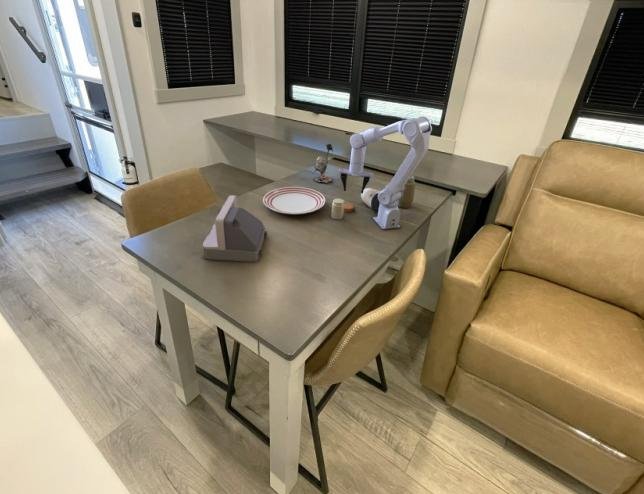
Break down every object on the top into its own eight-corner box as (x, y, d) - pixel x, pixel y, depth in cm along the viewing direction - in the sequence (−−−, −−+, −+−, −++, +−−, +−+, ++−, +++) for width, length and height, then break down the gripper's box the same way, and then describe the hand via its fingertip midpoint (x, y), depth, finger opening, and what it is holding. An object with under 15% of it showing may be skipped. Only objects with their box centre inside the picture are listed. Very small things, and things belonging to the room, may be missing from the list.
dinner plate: (252, 213, 137) (252, 206, 135) (276, 188, 161) (276, 182, 159) (316, 224, 132) (316, 217, 131) (330, 197, 156) (331, 191, 154)
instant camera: (222, 226, 127) (218, 190, 119) (274, 233, 124) (274, 197, 117) (195, 257, 108) (189, 217, 101) (255, 267, 106) (254, 227, 99)
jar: (345, 218, 138) (346, 202, 135) (333, 219, 137) (335, 204, 133) (340, 212, 143) (342, 197, 139) (329, 214, 141) (330, 198, 137)
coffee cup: (372, 206, 155) (387, 216, 141) (355, 201, 151) (370, 211, 138) (379, 188, 153) (395, 196, 139) (362, 183, 149) (378, 191, 136)
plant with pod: (319, 175, 180) (321, 138, 170) (334, 181, 173) (338, 144, 163) (308, 178, 175) (310, 141, 165) (324, 185, 168) (326, 146, 158)
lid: (341, 205, 149) (342, 202, 148) (353, 207, 148) (354, 204, 147) (339, 210, 144) (339, 207, 143) (351, 213, 143) (352, 209, 142)
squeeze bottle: (410, 202, 157) (418, 166, 148) (413, 210, 150) (421, 173, 141) (393, 200, 157) (400, 164, 148) (395, 208, 150) (402, 171, 141)
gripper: (338, 162, 135) (335, 192, 142) (373, 167, 133) (369, 197, 140) (341, 157, 141) (338, 186, 148) (374, 161, 139) (370, 190, 146)
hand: (353, 191), depth 144 cm, fingers open, 7 cm apart
